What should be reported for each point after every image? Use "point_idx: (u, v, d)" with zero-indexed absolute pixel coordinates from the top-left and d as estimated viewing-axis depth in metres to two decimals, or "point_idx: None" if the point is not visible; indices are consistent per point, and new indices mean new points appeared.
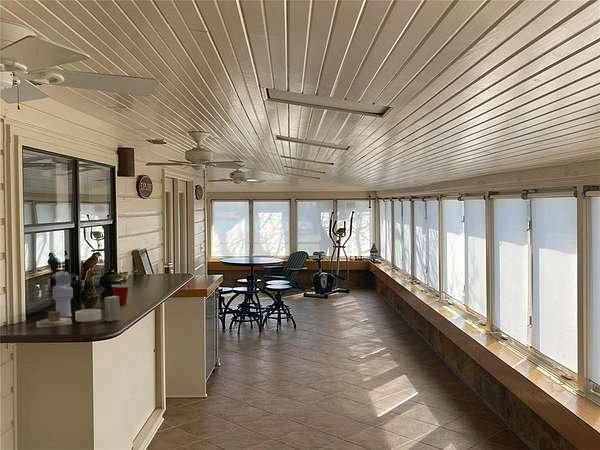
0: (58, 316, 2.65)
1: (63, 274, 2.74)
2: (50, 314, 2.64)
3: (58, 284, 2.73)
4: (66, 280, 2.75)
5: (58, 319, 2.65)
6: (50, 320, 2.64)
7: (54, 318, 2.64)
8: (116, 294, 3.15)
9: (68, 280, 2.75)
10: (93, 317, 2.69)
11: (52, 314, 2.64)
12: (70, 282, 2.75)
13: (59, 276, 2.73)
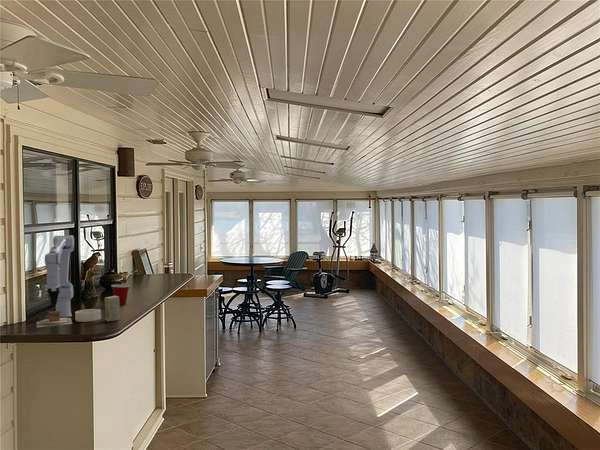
0: (58, 316, 2.65)
1: None
2: (50, 314, 2.64)
3: None
4: None
5: (58, 319, 2.65)
6: (50, 320, 2.64)
7: (54, 318, 2.64)
8: (116, 294, 3.15)
9: None
10: (93, 317, 2.69)
11: (52, 314, 2.64)
12: (57, 287, 2.63)
13: None
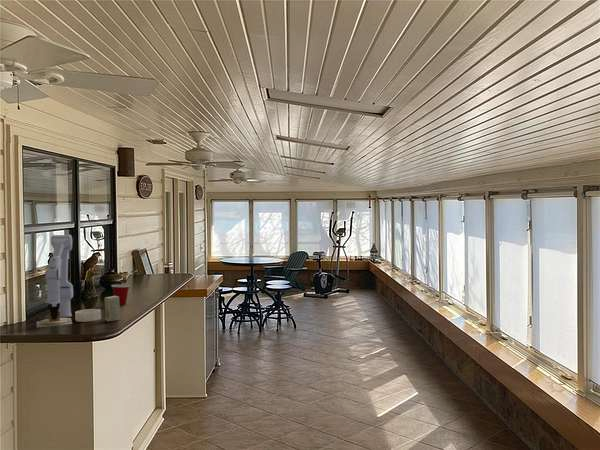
0: (58, 316, 2.65)
1: (47, 302, 2.64)
2: (50, 314, 2.64)
3: None
4: (55, 302, 2.64)
5: (58, 319, 2.65)
6: (50, 320, 2.64)
7: None
8: (116, 294, 3.15)
9: None
10: (93, 317, 2.69)
11: None
12: (58, 302, 2.63)
13: None
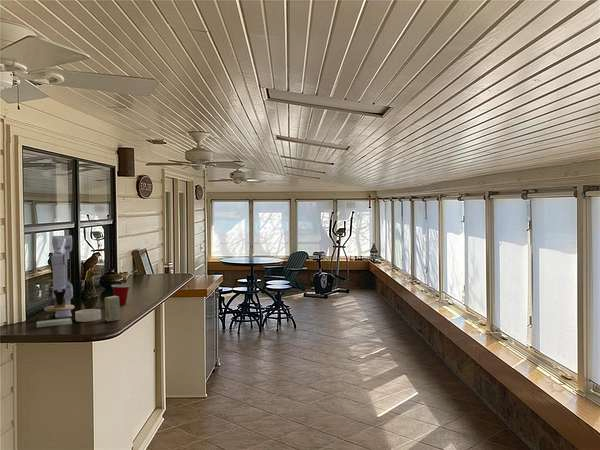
0: (63, 302, 2.66)
1: None
2: (55, 300, 2.65)
3: None
4: None
5: (63, 305, 2.66)
6: (55, 306, 2.65)
7: None
8: (116, 294, 3.15)
9: None
10: (93, 317, 2.69)
11: None
12: (63, 288, 2.64)
13: None
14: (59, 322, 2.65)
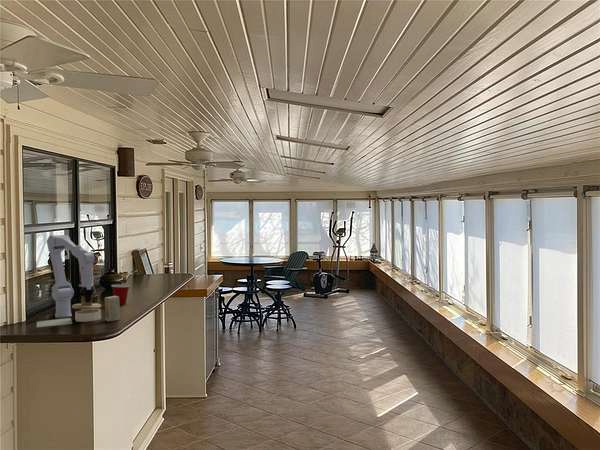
0: (91, 301, 2.72)
1: None
2: (83, 298, 2.70)
3: None
4: None
5: (91, 304, 2.72)
6: (83, 304, 2.70)
7: (87, 303, 2.71)
8: (116, 294, 3.15)
9: None
10: (93, 317, 2.69)
11: None
12: None
13: None
14: (59, 322, 2.65)
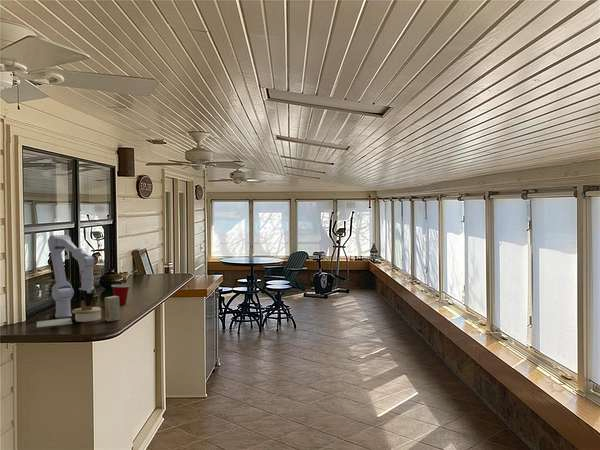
0: None
1: (82, 289, 2.71)
2: (83, 303, 2.70)
3: None
4: (89, 289, 2.72)
5: (90, 308, 2.72)
6: (83, 309, 2.70)
7: (87, 307, 2.71)
8: (116, 294, 3.15)
9: None
10: (93, 317, 2.69)
11: (85, 303, 2.71)
12: (92, 289, 2.71)
13: None
14: (59, 322, 2.65)
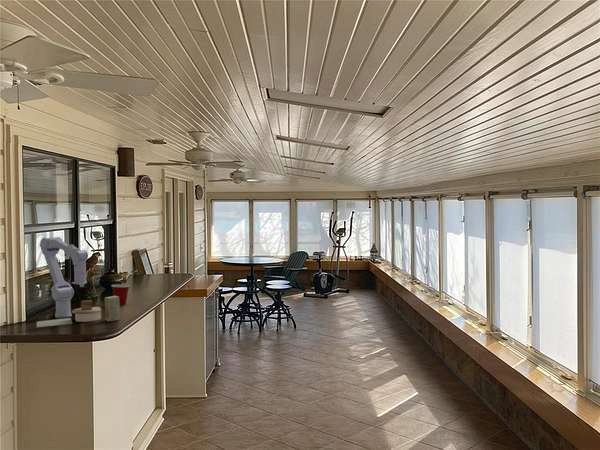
0: (90, 305, 2.72)
1: (75, 283, 2.74)
2: (83, 303, 2.70)
3: None
4: (82, 283, 2.75)
5: (90, 308, 2.72)
6: (83, 309, 2.70)
7: (87, 307, 2.71)
8: (116, 294, 3.15)
9: None
10: (93, 317, 2.69)
11: (85, 303, 2.71)
12: None
13: None
14: (59, 322, 2.65)
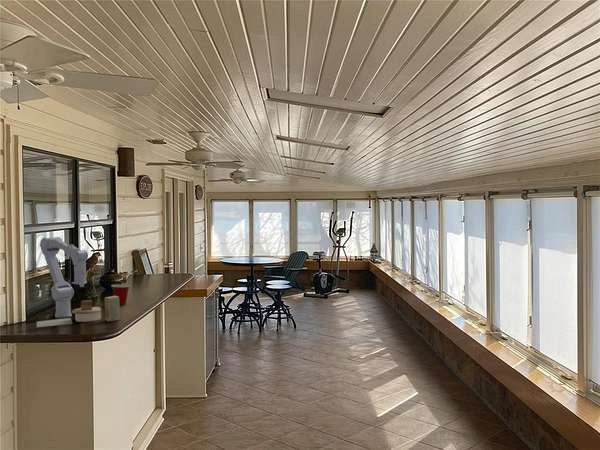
0: (90, 305, 2.72)
1: (75, 283, 2.74)
2: (83, 303, 2.70)
3: None
4: (82, 283, 2.75)
5: (90, 308, 2.72)
6: (83, 309, 2.70)
7: (87, 307, 2.71)
8: (116, 294, 3.15)
9: None
10: (93, 317, 2.69)
11: (85, 303, 2.71)
12: None
13: None
14: (59, 322, 2.65)
